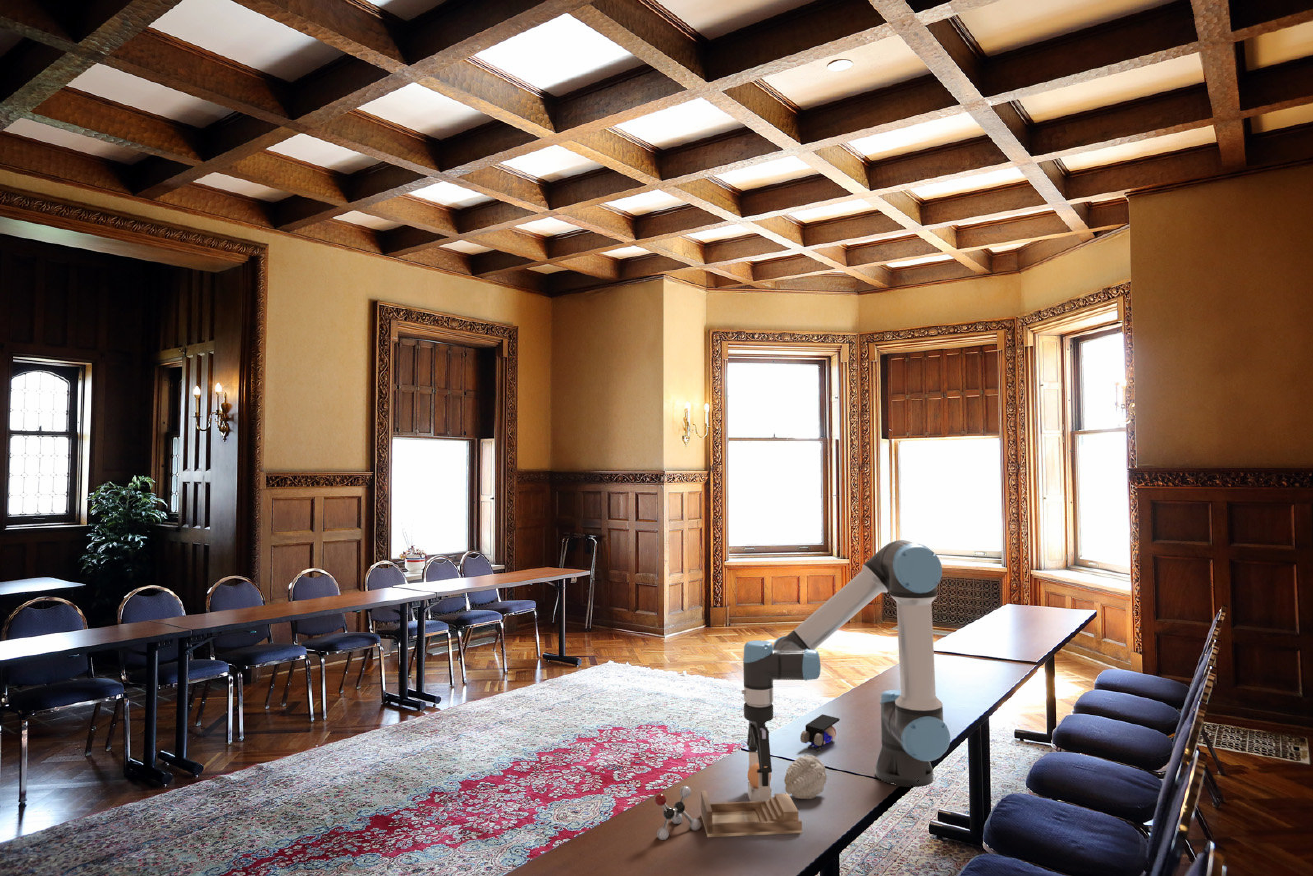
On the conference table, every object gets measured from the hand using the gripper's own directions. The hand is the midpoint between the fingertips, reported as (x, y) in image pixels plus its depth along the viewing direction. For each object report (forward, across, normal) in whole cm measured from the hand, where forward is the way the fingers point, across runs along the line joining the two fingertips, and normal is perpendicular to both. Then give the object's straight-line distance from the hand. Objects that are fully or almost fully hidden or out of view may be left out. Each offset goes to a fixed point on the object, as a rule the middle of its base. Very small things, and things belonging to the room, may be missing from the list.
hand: (759, 787), depth 204 cm
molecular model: (+4, +17, -23) cm, 29 cm away
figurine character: (+1, -33, +22) cm, 39 cm away
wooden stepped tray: (+3, +14, -5) cm, 15 cm away
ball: (-3, 0, 0) cm, 3 cm away
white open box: (+3, 0, 0) cm, 3 cm away
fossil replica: (+4, -1, +12) cm, 13 cm away
